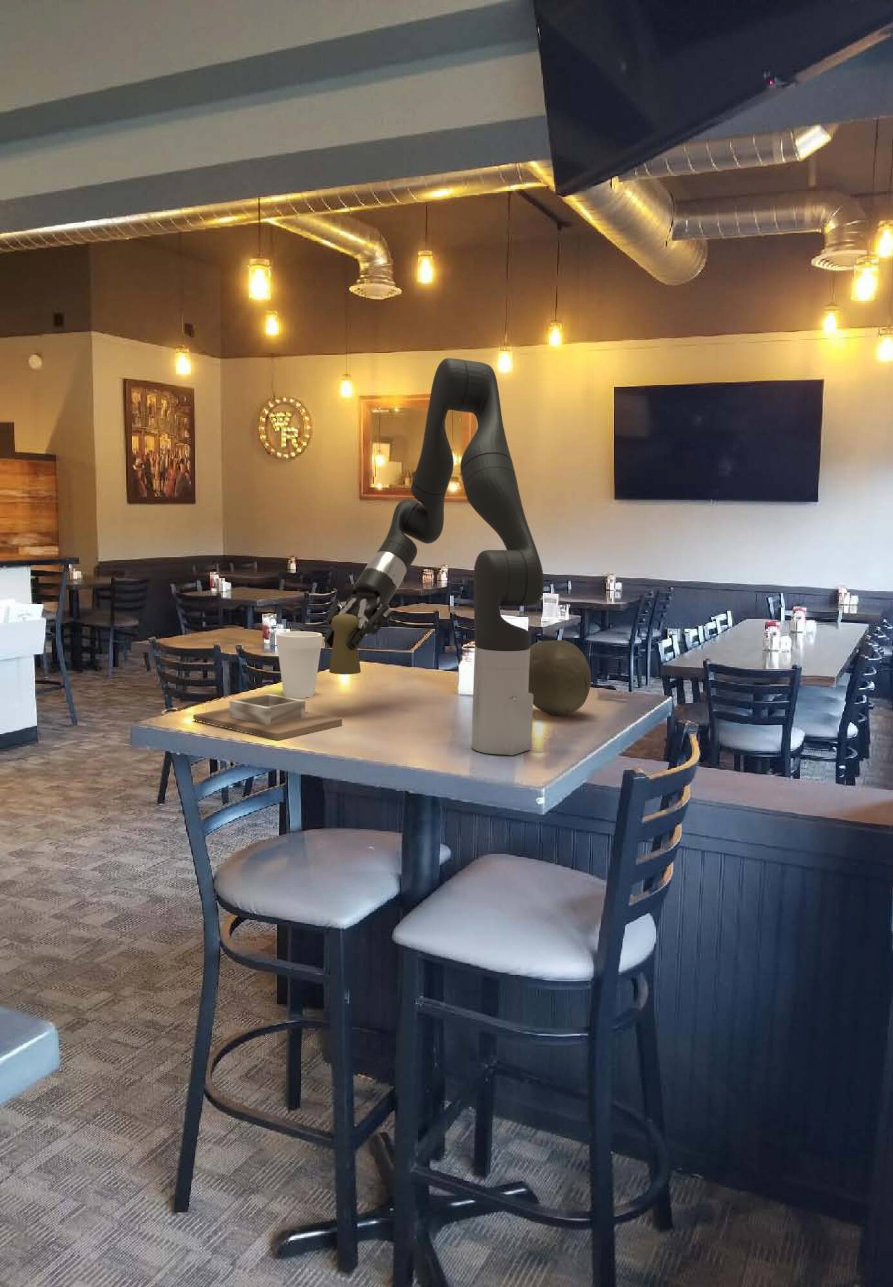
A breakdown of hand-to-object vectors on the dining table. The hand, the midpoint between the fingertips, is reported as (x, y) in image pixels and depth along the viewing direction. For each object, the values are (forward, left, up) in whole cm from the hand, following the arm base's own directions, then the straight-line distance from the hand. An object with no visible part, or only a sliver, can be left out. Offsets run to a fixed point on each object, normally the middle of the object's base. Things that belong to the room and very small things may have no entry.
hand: (338, 645), depth 182 cm
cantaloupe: (-30, -30, -14) cm, 44 cm away
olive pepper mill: (0, -2, -5) cm, 6 cm away
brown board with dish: (+5, +13, -14) cm, 20 cm away
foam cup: (+20, -10, -14) cm, 26 cm away
